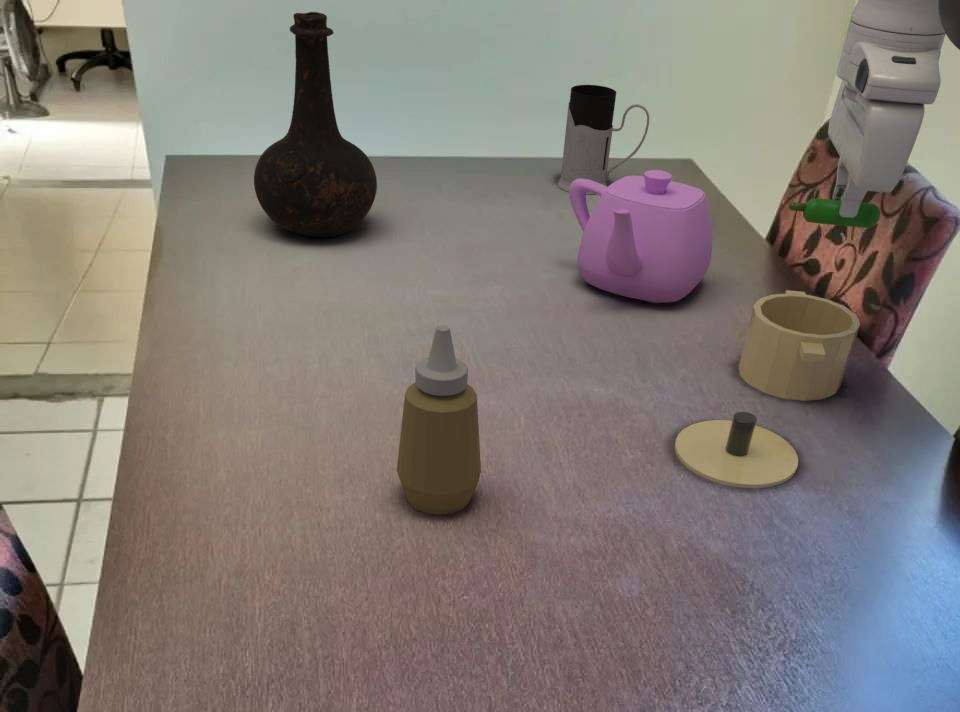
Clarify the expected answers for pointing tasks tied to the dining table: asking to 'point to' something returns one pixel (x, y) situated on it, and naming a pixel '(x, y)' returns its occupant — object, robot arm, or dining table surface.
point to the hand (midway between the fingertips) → (843, 209)
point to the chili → (836, 213)
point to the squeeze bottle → (439, 433)
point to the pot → (798, 346)
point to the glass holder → (590, 135)
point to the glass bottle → (314, 151)
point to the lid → (736, 452)
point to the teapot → (643, 236)
